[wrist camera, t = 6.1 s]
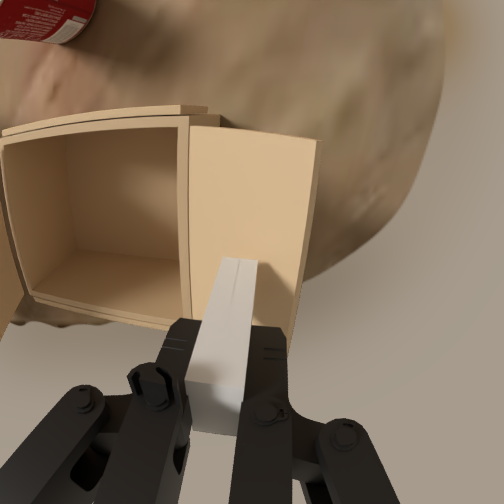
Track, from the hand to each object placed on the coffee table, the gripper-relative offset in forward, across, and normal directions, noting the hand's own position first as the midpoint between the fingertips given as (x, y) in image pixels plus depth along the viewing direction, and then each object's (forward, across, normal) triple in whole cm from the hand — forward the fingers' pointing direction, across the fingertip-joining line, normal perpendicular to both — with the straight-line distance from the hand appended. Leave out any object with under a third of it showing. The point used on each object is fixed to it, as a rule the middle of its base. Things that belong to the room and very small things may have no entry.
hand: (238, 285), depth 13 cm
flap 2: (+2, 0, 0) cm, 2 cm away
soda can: (+14, -19, +19) cm, 30 cm away
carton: (+14, -11, 0) cm, 18 cm away
